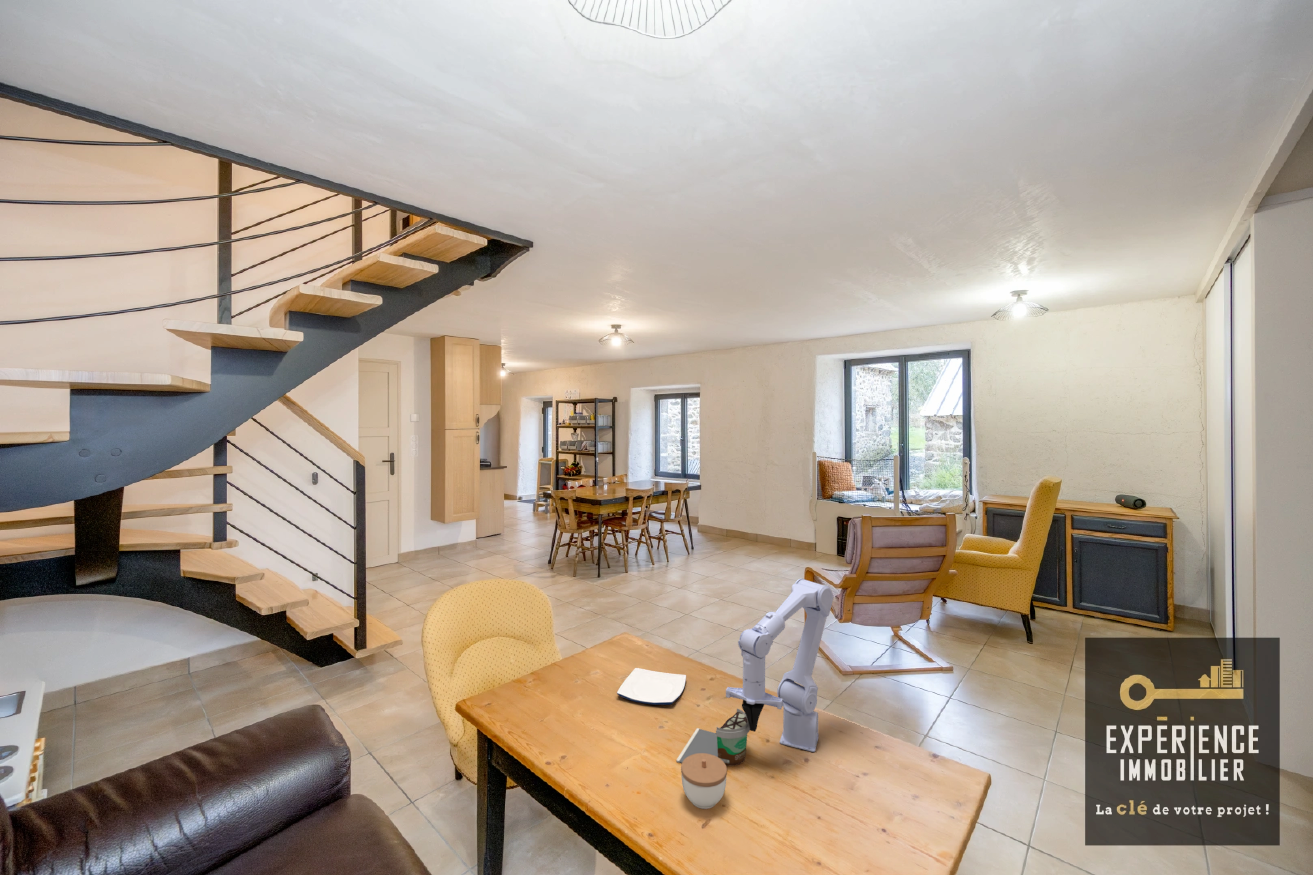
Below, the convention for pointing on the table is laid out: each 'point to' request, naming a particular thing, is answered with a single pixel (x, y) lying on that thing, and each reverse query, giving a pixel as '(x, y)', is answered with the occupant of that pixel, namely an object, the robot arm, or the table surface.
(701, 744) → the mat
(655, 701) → the plate
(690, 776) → the lidded jar
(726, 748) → the food container
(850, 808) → the table surface
